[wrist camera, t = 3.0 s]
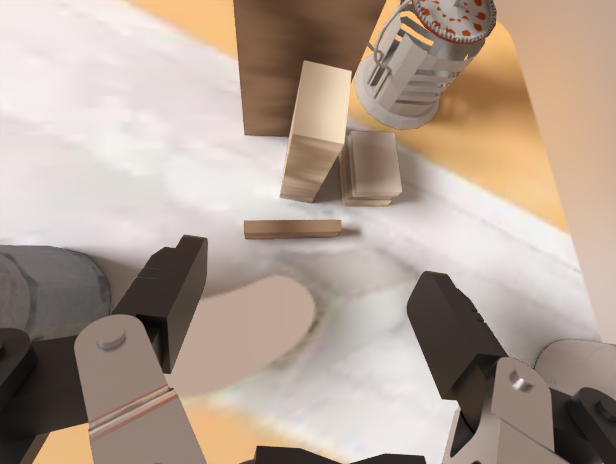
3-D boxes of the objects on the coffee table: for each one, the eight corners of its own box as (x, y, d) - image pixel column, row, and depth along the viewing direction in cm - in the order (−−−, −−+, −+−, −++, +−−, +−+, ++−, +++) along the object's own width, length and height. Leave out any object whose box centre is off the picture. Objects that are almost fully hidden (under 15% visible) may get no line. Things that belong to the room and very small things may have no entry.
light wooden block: (317, 154, 29) (351, 71, 18) (311, 203, 28) (344, 144, 17) (286, 148, 29) (303, 60, 18) (279, 197, 27) (292, 133, 17)
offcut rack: (326, 124, 30) (399, -63, 14) (334, 237, 27) (432, 157, 12) (244, 120, 28) (228, -91, 13) (245, 238, 26) (226, 151, 11)
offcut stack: (380, 149, 30) (395, 129, 27) (386, 205, 29) (403, 193, 25) (337, 147, 29) (348, 127, 26) (342, 206, 28) (354, 192, 25)
